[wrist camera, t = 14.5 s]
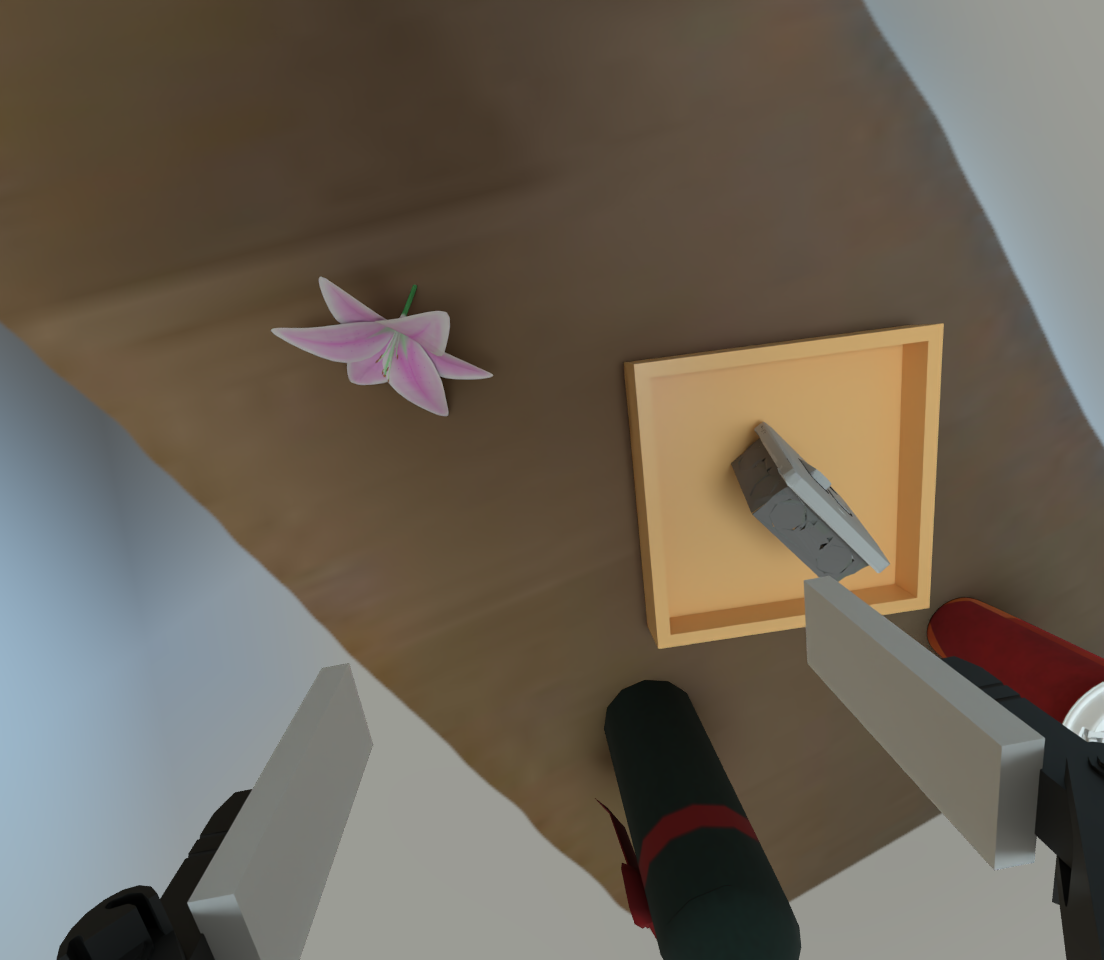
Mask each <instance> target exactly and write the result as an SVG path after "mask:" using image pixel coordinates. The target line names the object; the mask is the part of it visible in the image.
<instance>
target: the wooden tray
mask: <svg viewBox="0 0 1104 960" xmlns="http://www.w3.org/2000/svg"><path fill="white" fill-rule="evenodd" d="M943 326H944V324H923V325H905V326H897V327H890V328H882V329H875V330H867V331H859V332H852V333H844V334H837V335H829V336H821V337H814V338H806V339H798V340H791V341H783V342H776V343H768V344H760V345H753V346H745V347H737V348H730V349H722V350H715V351H707V352H699V353H692V354H684V355H676V356H669V357H661V358H654V359H646V360H638V361H631V362H623V363H624V374H625V385H626V396H627V407H628V418H629V429H630V440H631V451H632V462H633V473H634V484H635V495H636V506H637V517H638V528H639V540H640V551H641V562H642V573H643V584H644V595H645V606H646V617H647V626H648V628H649V630H650V632H651V634H652V637H653V639H654V641H655V643H656V645H657V647H658V649H661V648H668V647H675V646H681V645H688V644H694V643H701V642H708V641H714V640H721V639H727V638H734V637H741V636H747V635H754V634H760V633H767V632H774V631H780V630H787V629H793V628H800V627H806V620H805V598H804V580H808V579H814V578H819V577H818V576H817V575H816V574H815V573H814V572H813V571H812V570H811V569H810V568H809V567H808V566H807V565H805V564H804V563H803V562H802V561H801V560H800V559H799V558H798V557H797V556H796V555H795V554H794V553H793V552H792V551H791V550H790V549H788V548H787V547H786V546H785V545H784V544H783V543H782V542H781V541H780V540H779V539H778V538H777V537H776V536H775V535H774V534H772V533H771V532H770V531H769V530H768V529H767V528H766V527H765V526H764V525H763V524H762V523H761V522H760V521H759V520H758V519H756V518H755V517H754V516H753V515H752V514H753V513H754V512H755V511H756V510H755V511H754V512H752V513H751V511H750V508H749V506H748V504H747V501H746V499H745V496H744V494H743V492H742V489H741V487H740V484H739V482H738V480H737V477H736V475H735V472H734V470H733V467H732V465H731V463H732V462H733V461H734V460H736V459H737V458H738V457H739V456H740V455H742V454H743V453H744V452H745V451H746V449H747V448H748V447H749V446H750V445H751V444H753V443H754V442H755V441H757V440H758V439H759V438H760V437H759V436H758V435H757V433H756V432H755V427H757V426H758V425H759V424H761V423H762V422H765V423H767V424H768V425H769V426H770V427H772V428H773V429H774V430H775V431H776V432H777V433H778V434H779V435H780V436H781V437H782V438H783V439H784V440H785V441H786V442H787V443H788V444H789V445H790V446H791V447H792V448H793V449H794V450H795V451H796V452H797V453H798V454H799V455H800V456H801V457H802V458H803V459H804V460H805V461H806V462H807V463H808V464H809V465H811V466H812V467H814V468H816V469H817V470H818V471H819V472H821V473H822V474H823V475H824V476H825V477H826V478H827V479H828V480H829V481H830V482H831V487H832V488H833V489H834V490H835V491H836V492H837V493H838V494H839V495H840V496H841V497H842V499H843V500H844V501H845V502H846V504H847V505H848V506H849V507H850V509H851V510H852V511H853V513H854V514H855V515H856V517H857V518H858V519H859V521H860V522H861V523H862V525H863V526H864V527H865V529H866V530H867V531H868V533H869V534H870V535H871V537H872V538H873V539H874V541H875V542H876V543H877V545H878V546H879V548H880V549H881V551H882V552H883V554H884V555H885V557H886V558H887V560H888V561H889V563H890V565H889V566H888V567H886V568H885V569H884V570H883V571H882V572H881V573H877V572H876V571H875V570H874V569H873V568H872V567H871V566H870V565H869V566H867V567H864V568H862V569H861V570H859V571H858V572H856V573H855V574H852V575H849V576H846V577H845V578H843V579H842V580H840V581H839V583H840V584H841V585H843V586H844V587H845V588H847V589H848V590H849V591H851V592H852V593H853V594H855V595H856V596H857V597H859V598H860V599H861V600H863V601H864V602H865V603H867V604H868V605H869V606H871V607H872V608H873V609H875V610H876V611H877V612H879V613H880V614H881V615H886V614H892V613H899V612H906V611H912V610H919V609H925V608H929V605H930V585H931V565H932V545H933V525H934V505H935V485H936V465H937V446H938V426H939V406H940V386H941V366H942V346H943ZM765 504H766V503H765ZM762 506H763V505H762ZM762 506H761V507H762ZM758 509H759V508H758ZM758 509H757V510H758ZM772 524H773V523H772ZM773 527H774V525H773ZM795 528H796V527H795ZM795 528H793V529H795Z"/></svg>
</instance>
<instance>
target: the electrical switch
mask: <svg viewBox="0 0 1104 960" xmlns="http://www.w3.org/2000/svg"><path fill="white" fill-rule="evenodd" d="M755 432H756V433H757V435H758V436H759V437H760V438H759V439H758V440H757V441H755V442H754V443H753V444H751V445H750V446H749V447H748V448H747V449H746V451H745V452H744V453H743V454H742V455H740V456H739V457H738V458H737V459H736V460H734V461H733V462H732V463H731V465H732V467H733V470H734V472H735V475H736V477H737V480H738V482H739V484H740V487H741V489H742V492H743V494H744V496H745V499H746V501H747V504H748V506H749V508H750V511H751V513H752V512H754V511H755V510H756V511H755V512H754V513H753V514H752V515H753V516H754V517H755V518H756V519H758V520H759V521H760V522H761V523H762V524H763V525H764V526H765V527H766V528H767V529H768V530H769V531H770V532H771V533H772V534H774V535H775V536H776V537H777V538H778V539H779V540H780V541H781V542H782V543H783V544H784V545H785V546H786V547H787V548H788V549H790V550H791V551H792V552H793V553H794V554H795V555H796V556H797V557H798V558H799V559H800V560H801V561H802V562H803V563H804V564H805V565H807V566H808V567H809V568H810V569H811V570H812V571H813V572H814V573H815V574H816V575H817V576H818V577H825V576H831V577H832V578H833V579H835V580H836V581H837V582H839V581H840V580H842V579H843V578H845V577H846V576H849V575H852V574H855V573H856V572H858V571H859V570H861V569H862V568H864V567H867V566H869V565H870V566H871V567H872V568H873V569H874V570H875V571H876V572H877V573H881V572H882V571H883V570H884V569H885V568H886V567H888V566H889V565H890V563H889V561H888V560H887V558H886V557H885V555H884V554H883V552H882V551H881V549H880V548H879V546H878V545H877V543H876V542H875V541H874V539H873V538H872V537H871V535H870V534H869V533H868V531H867V530H866V529H865V527H864V526H863V525H862V523H861V522H860V521H859V519H858V518H857V517H856V515H855V514H854V513H853V511H852V510H851V509H850V507H849V506H848V505H847V504H846V502H845V501H844V500H843V499H842V497H841V496H840V495H839V494H838V493H837V492H836V491H835V490H834V489H833V488H832V487H831V482H830V481H829V480H828V479H827V478H826V477H825V476H824V475H823V474H822V473H821V472H819V471H818V470H817V469H816V468H814V467H812V466H811V465H809V464H808V463H807V462H806V461H805V460H804V459H803V458H802V457H801V456H800V455H799V454H798V453H797V452H796V451H795V450H794V449H793V448H792V447H791V446H790V445H789V444H788V443H787V442H786V441H785V440H784V439H783V438H782V437H781V436H780V435H779V434H778V433H777V432H776V431H775V430H774V429H773V428H772V427H770V426H769V425H768V424H767V423H765V422H762V423H761V424H759V425H758V426H757V427H755ZM765 503H766V504H765ZM762 505H763V506H762ZM761 506H762V507H761ZM758 508H759V509H758ZM757 509H758V510H757ZM772 523H773V524H772ZM773 525H774V527H773ZM795 527H796V528H795ZM793 528H795V529H793Z"/></svg>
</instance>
